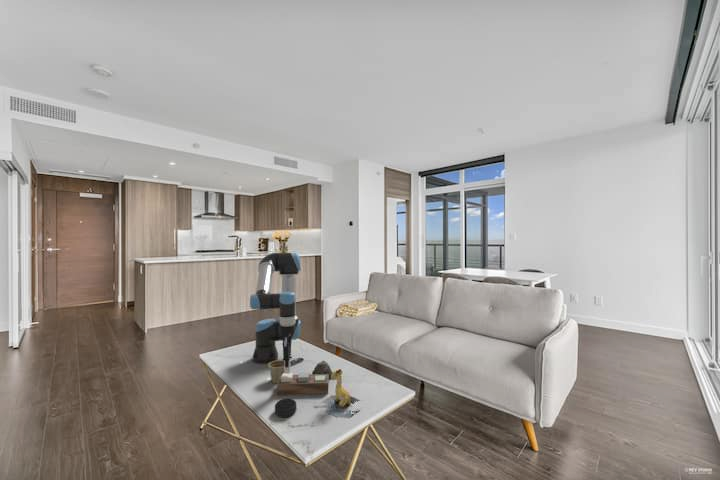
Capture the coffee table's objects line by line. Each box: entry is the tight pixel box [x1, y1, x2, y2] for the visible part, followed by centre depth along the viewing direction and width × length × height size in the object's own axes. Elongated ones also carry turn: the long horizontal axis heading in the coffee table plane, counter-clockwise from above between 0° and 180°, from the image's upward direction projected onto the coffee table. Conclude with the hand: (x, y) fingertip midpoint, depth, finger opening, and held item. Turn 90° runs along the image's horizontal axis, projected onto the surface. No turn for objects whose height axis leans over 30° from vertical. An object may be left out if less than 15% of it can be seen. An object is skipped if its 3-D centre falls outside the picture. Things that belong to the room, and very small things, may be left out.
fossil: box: [311, 360, 333, 380], centre depth 165 cm, size 11×9×10 cm
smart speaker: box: [274, 398, 297, 418], centre depth 131 cm, size 9×9×4 cm
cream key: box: [281, 372, 294, 382], centre depth 150 cm, size 5×5×2 cm
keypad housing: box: [276, 373, 330, 396], centre depth 151 cm, size 10×24×5 cm, turn 94°
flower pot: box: [267, 359, 284, 384], centre depth 160 cm, size 9×9×9 cm
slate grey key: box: [298, 372, 310, 382], centre depth 151 cm, size 5×5×2 cm
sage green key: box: [315, 375, 326, 381], centre depth 151 cm, size 5×5×2 cm
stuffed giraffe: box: [313, 368, 361, 419], centre depth 136 cm, size 16×18×16 cm
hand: (287, 372), depth 150 cm, fingers closed
